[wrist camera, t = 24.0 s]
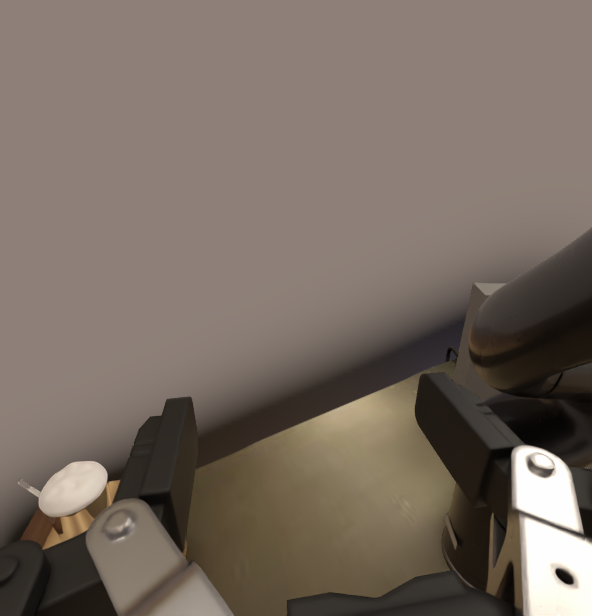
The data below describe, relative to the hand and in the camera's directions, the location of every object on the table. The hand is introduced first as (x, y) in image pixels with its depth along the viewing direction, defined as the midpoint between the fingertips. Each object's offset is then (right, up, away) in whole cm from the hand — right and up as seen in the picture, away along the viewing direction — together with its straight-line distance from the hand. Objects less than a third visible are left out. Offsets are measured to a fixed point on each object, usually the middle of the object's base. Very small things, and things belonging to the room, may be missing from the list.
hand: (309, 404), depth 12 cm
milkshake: (-18, -18, +18) cm, 31 cm away
